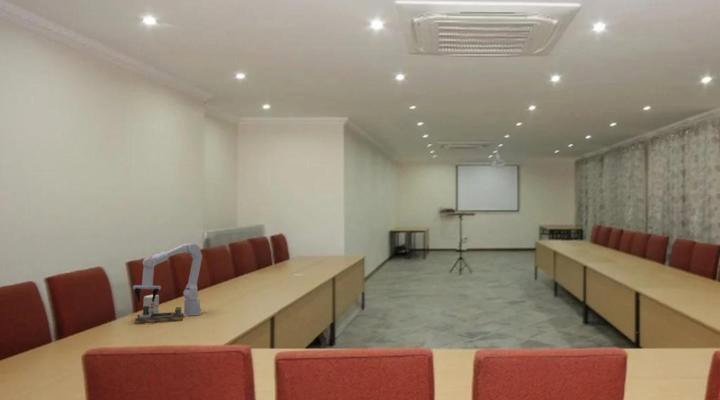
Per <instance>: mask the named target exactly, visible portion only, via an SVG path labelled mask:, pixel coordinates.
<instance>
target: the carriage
mask: <svg viewBox="0 0 720 400" xmlns="http://www.w3.org/2000/svg"><path fill="white" fill-rule="evenodd" d="M139 315H140V316H139V318H146V317H153V316H154V313H152V312H150V313H149V306H142V312H140V314H139Z"/></svg>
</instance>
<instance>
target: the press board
mask: <svg viewBox="0 0 720 400" xmlns="http://www.w3.org/2000/svg"><path fill="white" fill-rule="evenodd" d="M183 314H184V312H183V313H182V307H181V306H178V307H177V306H176V307H175V310H174V311H170V312H159V313H155V314H154V316H153V317H146V318H139V316H140V314H137V315H136V316H137V317H135V319H134V325H135V324H136V325H145V323H149V324H158V323H159V324H161V323H171V322H173V323H174V322H182V321H183V319H184V316H183Z"/></svg>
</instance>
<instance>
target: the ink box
mask: <svg viewBox="0 0 720 400" xmlns="http://www.w3.org/2000/svg"><path fill="white" fill-rule="evenodd" d="M152 299H153V294H149V295H144V297H143V306H149V313H150V312H152V313H154V314H155V313H160V312H159V309H160V306H159V304H160V295H159V294H156V296H155V299H154V302H152ZM143 306H142V307H143Z"/></svg>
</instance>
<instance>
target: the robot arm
mask: <svg viewBox="0 0 720 400" xmlns="http://www.w3.org/2000/svg"><path fill="white" fill-rule="evenodd" d="M179 253H187V254H189V255H190V257H191V258H192V261H191V266H190V273H189V275H188V276H189V277H188V281H187V282H188V283H187V284H186V285H185V286H186V287H185V288H184V290H183V293H182V295H183V297H184V299H183V301H184V302H183V304H184V305H183V307H184V309H183V310H184V311H183V317H186V316H187V317H189V316H199V315H201V299H197V298H198V297H199V293H198V290H199V289H198V281H199V275H200V270H201V265H202V261H203V255H202V252H201V248H200V246H199V244H197V243H192V242H189V241H188V242H186V243H182V244H180V245H179V246H176V247H174V248H171V249H170V250H167V251H166V252H165V251H161V250H160V251H158V253H156V254H154V255H153V254H152V255H150V256H149V257H145V258H144V259H143V260H142V265H143V270H142V280H141V284H140V285H139V284H138V285H134V284H133V287H132V290H134V293H135V294H136V298H137V303H140V302H141V292H142V290H152V295H153V299H152V302H154V299H155V296H156V295H158V293H159V290H161V288H162V286H161V285H154V275H155V271H154V270H155V267H156V265H159V264H161V263H164V262H165V261H167V260H168V259H169V257H173V256H174V255H176V254H179Z"/></svg>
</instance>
